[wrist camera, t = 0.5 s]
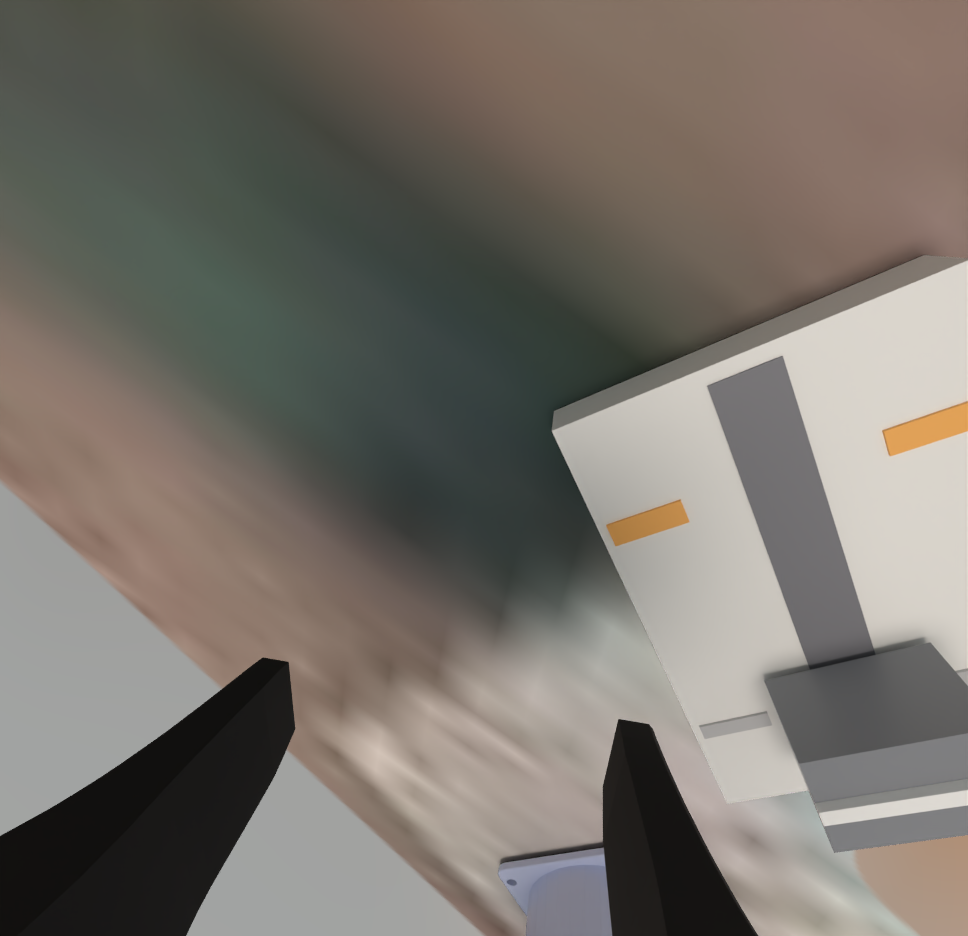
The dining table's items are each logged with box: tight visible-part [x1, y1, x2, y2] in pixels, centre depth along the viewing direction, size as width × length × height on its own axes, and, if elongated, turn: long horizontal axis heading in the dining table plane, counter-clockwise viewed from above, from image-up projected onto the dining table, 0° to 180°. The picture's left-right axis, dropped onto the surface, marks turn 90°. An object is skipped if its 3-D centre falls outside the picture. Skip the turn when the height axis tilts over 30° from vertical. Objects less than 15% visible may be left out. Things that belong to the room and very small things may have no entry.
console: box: [552, 255, 968, 804], centre depth 18 cm, size 17×11×2 cm, turn 27°
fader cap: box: [764, 642, 968, 853], centre depth 17 cm, size 4×5×4 cm
